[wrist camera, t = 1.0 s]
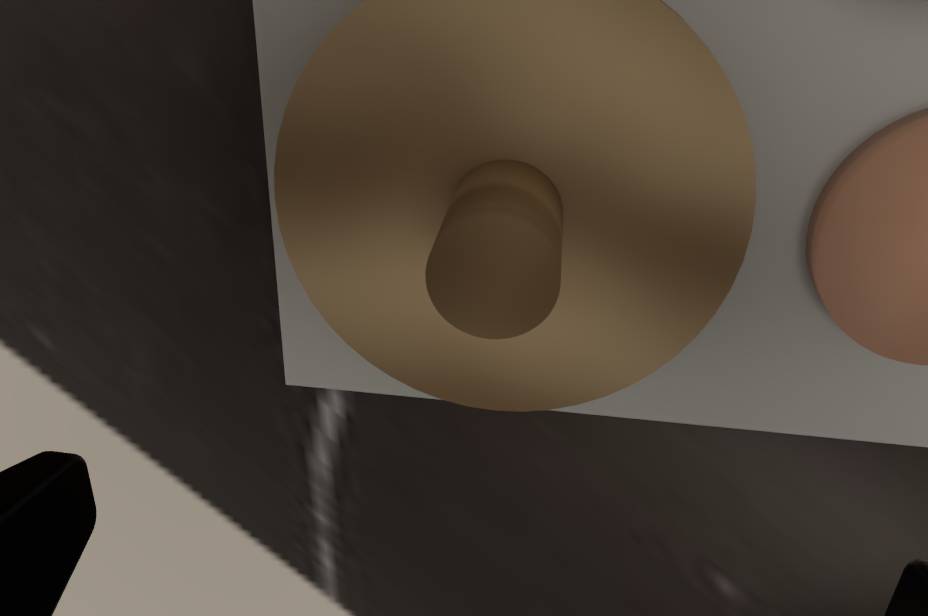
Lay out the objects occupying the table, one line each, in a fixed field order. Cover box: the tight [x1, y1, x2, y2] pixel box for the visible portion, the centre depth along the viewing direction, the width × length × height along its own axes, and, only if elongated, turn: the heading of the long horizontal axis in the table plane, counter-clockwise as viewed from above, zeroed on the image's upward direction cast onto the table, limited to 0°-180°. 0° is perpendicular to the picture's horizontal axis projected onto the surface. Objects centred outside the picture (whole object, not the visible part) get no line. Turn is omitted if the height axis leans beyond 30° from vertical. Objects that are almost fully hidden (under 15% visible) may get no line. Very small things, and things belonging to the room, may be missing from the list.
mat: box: [253, 0, 928, 447], centre depth 19 cm, size 12×20×1 cm, turn 88°
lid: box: [274, 0, 756, 412], centre depth 17 cm, size 11×11×4 cm
